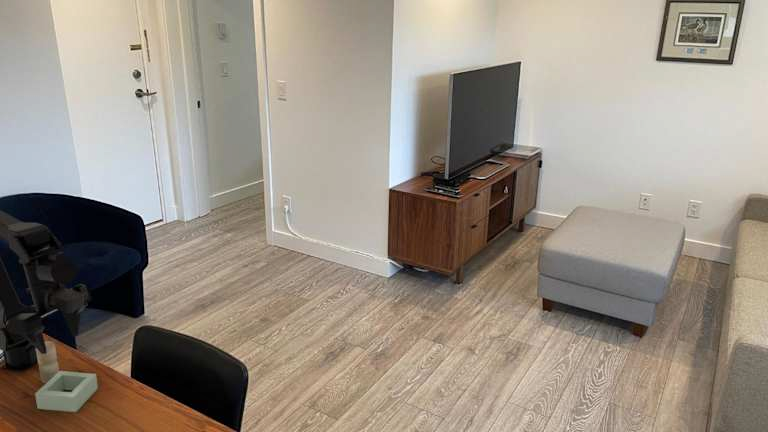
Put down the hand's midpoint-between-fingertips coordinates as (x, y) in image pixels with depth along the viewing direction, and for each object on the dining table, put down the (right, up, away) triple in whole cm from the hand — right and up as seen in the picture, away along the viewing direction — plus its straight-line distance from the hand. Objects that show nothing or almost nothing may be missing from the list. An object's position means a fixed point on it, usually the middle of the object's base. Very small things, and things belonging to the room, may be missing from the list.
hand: (60, 344), depth 134 cm
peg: (-7, -10, +8) cm, 14 cm away
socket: (+2, -13, 0) cm, 13 cm away
